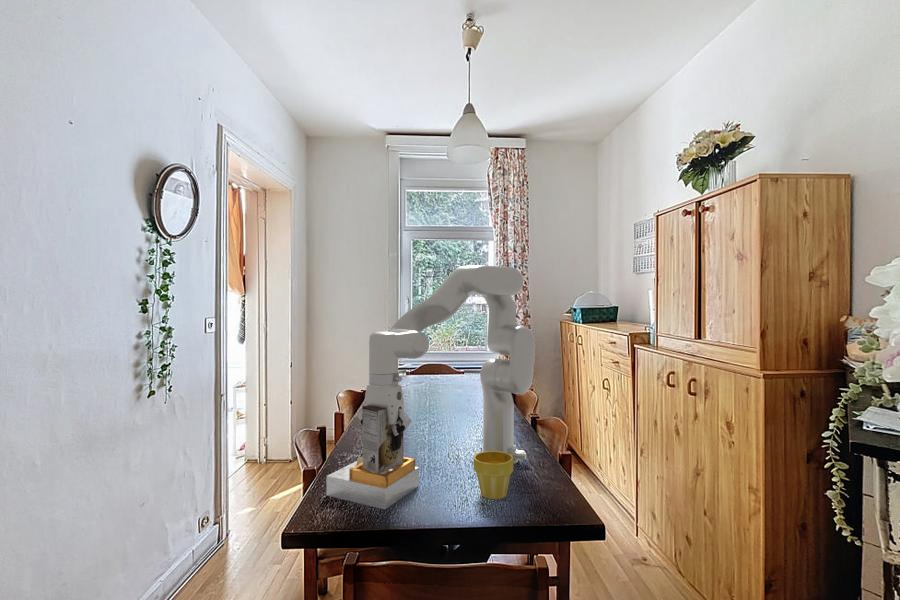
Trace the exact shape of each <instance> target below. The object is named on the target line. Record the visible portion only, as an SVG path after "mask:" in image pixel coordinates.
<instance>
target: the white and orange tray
mask: <svg viewBox="0 0 900 600" xmlns="http://www.w3.org/2000/svg"><path fill="white" fill-rule="evenodd" d="M403 457H404V463H403V464H402V465H399V466H397V467H394V468H392V469H389V470H387V471H384V472H382V473H375V472H372V471H369V470H367V469H364V468H363V456H360V457H358V458H356V461H354V462H352V463H349V464H348V465H346V466H344V467H342V468H339V469H338V470H336V471H333V472H332V473H329V474H327V475H326V496H327V497H331V498H335V499H340V500H344V501H349V502H351V503H356V504H360V505H365V506H369V507H373V508H377V509H381V510H387V509H388V508H389V507H391V506H393V505H394V504H395V503H397V502H398V501H399V500H401V499H402V498H404V497H405V496H406V495H408V494H410V493H411V492H412V491H414V490H415V489H416V488H418V487H419V485H420V484H419V480H420V477H419V474H420V473H419V469H420V467H418V466H416V458H413V457H412V458H411V457H405V456H403Z"/></svg>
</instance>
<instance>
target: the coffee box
mask: <svg viewBox="0 0 900 600" xmlns="http://www.w3.org/2000/svg"><path fill="white" fill-rule="evenodd" d="M362 409H363V425H362V457H363V468H364V469H367V470H369V471H372V472H375V473H382V472H384V471H387V470H389V469H392V468H394V467H397V466H399V465H402V464H403V463H404V457H405V456H404V432H403V433H401V447H400V449H398V450H396V451H392V435H394V433H393V431H392V429H391V426H390V425H389V424H388V416H387V408H380V407H376V406H369V405H367V406H362ZM398 419H399V416H398ZM400 419H401V418H400ZM400 421H401V420H399V422H400ZM400 424H401V425H402V424H403V421H402V422H400Z"/></svg>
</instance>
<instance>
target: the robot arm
mask: <svg viewBox="0 0 900 600" xmlns="http://www.w3.org/2000/svg"><path fill="white" fill-rule="evenodd" d="M522 275H523V274H521V272H520V271H519V269H517V268H515V267H514V266H513V267H512V266H496V265H484V264H483V265H482V264H480V265H479V264H476V265H474V264H473V265H463V266H458V267H457V268H455V269H454V270H453V271H451V272H450V274H449V275H448V276H447V277H446V278H445V279H444V281H443V282H442V283H440V285H439V286H438V287H437V288H436V289H435V291H433V293H432V294H431V295H430V296H428V298H426V299H425V300H423V301H421V302H420V303H418V304H417V305H416V306H414V307H412V308H411V309H410V310H408V311H407V312H405V313H404V314H403V315H402V316H401V317H400V318H399V319H398V320H397V321H396V322H395V323H394V324H393V325H392V326H391V328H390V329H389V330H387V331H375V332H372V333H370V335H369V342H368V347H369V348H368V350H369V351H368V352H369V353H368V355H369V356H368V383H367V384H366V389H365V395H364V406H367V405H369V406H376V407H380V408H387V416H388V424H389V425H390V426H391V429H392V431H393V433H394V435H392V451H396V450H398V449H400V447H401V433H403V434H404V431H405V430H406V429H407V428H408V427H409V425H410V424H411V422H412V419H411V418H410V416H408V415H407V413H406V412H405V400H404V392H403V388H402V384H399V383H400V382H402V380H403V378H402V376H400V374H399V359H408V360H409V359H410V360H416V359H419V358H422V357H423V356H425V354H427V352H428V351H429V348H430V342H429V339H428V337H427V336H426V335H425V334H424V333H423V332H422V331H424V330H426V329H427V328H430V327H431V326H434V325H437V324H440V323H443V322H444V323H445V322H446V321H448V320H450V319H451V318H453V316H454V315H455V314H456V313H457V312H458V310H459V309H460V307H462V306H463V304H464V303H465V302H466V301H467V300H468V299H469V298H470V296H480V295H481V296H482V298H483V299H485V302H486V304H487V307H488V321H487V322H488V323H487V324H488V325H487V336H486V337H487V340H486V342H487V348H488V350H489V351H490V352H491V353H493V354H495V355H496V354H497V355H499V356H500V355H501V356H502V355H503V356H508V357H509V360H508V359H505V358H504V359H503V358H490V359H488V360H485V362H484V363H483V364H482V366H481V369H480V373H479V377H480V378H479V379H480V384H481V389H482V398H483V400H482V401H483V403H482V404H483V410H482V411H483V413H482V415H483V416H482V417H483V418H482V419H483V421H482V424H483V425H482V430H483V432H482V433H483V434H482V437H483V438H482V452H484V451H501V452H505V453H508V454H510V455H512V457H513V462H514V465H516V464H517V463H518V462H519V460H520V459H521V460H526V459H527V453H526V450H519V449H518V448H517V444H514V434H515V433H514V430H515V429H514V426H515V425H514V419H515V418H514V416H515V413H514V411H515V407H514V406H515V403H514V399H513V398H514V397H513V395H512V394H514V395H515V394H516V395H523V394H526V393H528V391H529V390H530V389H531V387H532V384H533V381H534V373H535V361H536V360H535V357H536V339H535V335H534V333H533V332H532V330H531V329H530V328H529V327H527V326H525V325H517V324H516V322H517V319H516V318H517V309H516V304H515V301H514V299H513V297H512V296H515V295H517V294H518V293H519V292H520V291H521V290H522V288H523V285H524V278H523V276H522ZM356 416H357V418H358V419H359V420H358V421H360V424H361V425H362V426H363V408H362V409H360V410H359V411H358V412H357V413H356ZM398 416H399V419H398ZM400 418H401V419H400ZM399 420H401V421H400V422H402V421H403V424H402V425H401V424H400V422H399Z"/></svg>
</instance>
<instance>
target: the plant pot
mask: <svg viewBox="0 0 900 600" xmlns="http://www.w3.org/2000/svg"><path fill="white" fill-rule="evenodd" d="M514 465H515V464H514V462H513V457H512V455H510V454H508V453H505V452H501V451H484V452H483V451H480V452H477V453H475V454H474V456H473V471H474V472H475V473H476V476H477V480H478V486H479V490H480V491H479V492H480V495H481V496H482V497H484V498H485V499H489V500H501V499H504V498H506V497H507V495H508V489H509V485H510V484H509V483H510V480H511V474H512V473H513V472H514Z"/></svg>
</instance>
